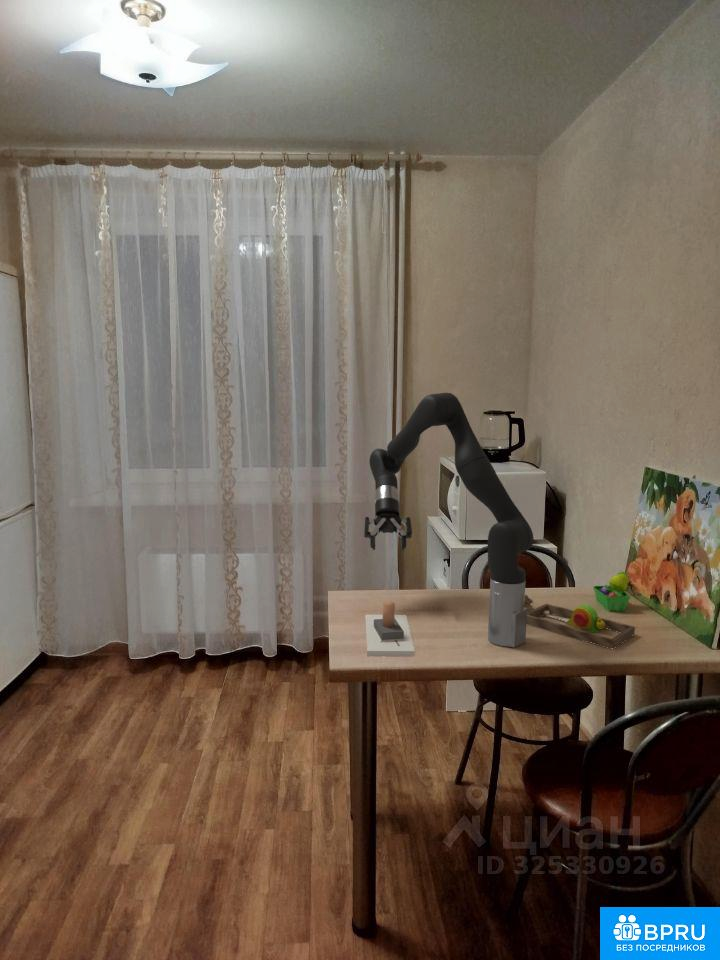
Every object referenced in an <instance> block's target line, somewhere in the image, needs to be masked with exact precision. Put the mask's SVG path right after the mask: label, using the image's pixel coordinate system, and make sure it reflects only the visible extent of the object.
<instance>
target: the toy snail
mask: <svg viewBox="0 0 720 960" xmlns="http://www.w3.org/2000/svg"><path fill="white" fill-rule="evenodd" d="M542 614H543V615H542V616H543V617H548V618H552V619H555V620H558V621H562V622H565V623H566V626H569V627H573V626H574V627H573V628H576V627H577V628H576V629H579V628H581V629H580V630H585V629H587V630H586V631H588V630H590V631H589V632H591V631H593V632H592V633H594V632H595V633H598V632H599V631H601V630H603V629H604V627H605V623H604V622H603V619H604V617H600V619H598V617H599V615H598V612H597V610H596V609H595V608H594V607H592V606H591V605H589V604H582V605H579V606H577V607H576V608H574V610H573V613H572V617H571V618H570V619H568V618H564V617H558V618H559V619H557V618H556V617H557V616H555V615H552V614H550V612H549V611H548V610H547V611H544V612H543V613H542ZM554 616H555V617H554ZM560 619H561V620H560ZM597 631H598V632H597Z"/></svg>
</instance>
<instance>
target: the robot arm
mask: <svg viewBox="0 0 720 960" xmlns="http://www.w3.org/2000/svg"><path fill="white" fill-rule="evenodd" d="M440 426H445V427H447V429H448V430H449V431H448V432H450V434H451V436H452V439H453V441H454V466H455V470H456V472H457V474H458V476H459V478H460V480H461V481H462V483H463V485H464V487H465V488H466V490H467V491H468V492H469V493H470V494H471V495H472V496H473V497H474V498H475V499H477V500H478V501H479V502H481V503H482V504H483V505H484V506H485V507H487V509H488V510H489V511H490V512H491V513H492V515H493V517H494V518H495V520H496V522H497V523H495V524H493V525H492V526H491V527H490V529H489V532H488V536H487V566H488V570H489V573H490V575H489V576H490V578H489V579H490V581H489V600H488V602H489V603H488V605H489V606H488V626H487V627H488V630H487V641H489V642H490V643H492V644H494V645H497V646H501V647H510V648H512V649H513V648H517V647H518V646H520V645H521V644H523V643H526V640H527V625H528V624H527V608H525V607H524V600H525V595H526V594H525V593H526V579H527V578H526V577H527V576H526V575H527V574H526V570H525V569H524V568H523V567H521V566H519V565H518V560H519V559H518V554H521V553H524V552H527V551H529V550H530V549H531V548H532V547H533V543H534V533H533V530H532V528H531V525H530V524H529V523H528V521H527V519H526V518H525V517H524V515H523V514H522V512H521V511H520V510H519V508H518V507H517V505H516V504H515V503H514V501H513V500H512V498H511V497H510V495H509V492H507V490H506V488H505V486H504V484H503V483H502V481H501V480H500V478H499V476H498V474H497V472H496V470H495V468H494V466H493V464H492V463H491V460H490V459H489V458H488V456H487V454H486V453H485V451H484V450H483V448H482V446H481V444H480V442H479V440H478V438H477V436H476V435H475V432H474V431H473V429H472V427H471V425H470V422H469V419H468V418H467V416H466V413H465V410H464V408H463V406H462V404H461V402H460V400H459V399H458V397H457V396H456V395H455V394H453V393H451V392H440V393H432V394H429V395H426V396H424V397H423V398H422V399H421V400H420V401H419V403H418V404H417V406H416V408H415V410H414V411H413V413H412V414H411V416H410V418H409V419H408V420H407V422H406V423H405V425H404V427H403V428H402V429H401V430H400V431H399V432H398V433H397V434H396V435H395V436H394V437H393V438H392V439H391V440H390V442H388V444H387V447H386V449H382V448H375V449H374V450H373V451H372V452H370V456H369V460H368V461H369V468H370V470H371V473H372V477H373V479H374V482H375V485H374V486H375V495H374V518H370V517H369V516H365V518H364V531H363V532H364V536H363V537H364V538H366V539H367V538H369V541H370V542H369V543H370V544H369V545H370V549H372V550H373V551H375V550H376V537H378V536H379V535H380V533H381V532H382V533H383V534H387V533H389V534H393V533H395V534H396V536H398V537H400V547H401V551H404V550H405V549H406V548H407V539H411V538H412V536H413V535H412V534H413V529H412V523H411V522H412V521H411V517H406V518H401V516H400V513H401V512H400V510H401V509H400V496H399V495H400V494H399V490H398V489H399V488H398V485H399V484H398V477H397V476H396V474H397V473H399V472H400V471H401V468H402V467H403V464H404V462H405V460H406V458H407V457H408V456H409V455H410V454H411V453H412V452H413V451H414V450H415V449H416V448H417V447H418V445H419V443H420V439H421V435H422V433H424V432H425V431H427V430H428V429H430V428H432V427H440ZM373 524H374V529H373V530H372V531H369V529H370V527H371V526H372V525H373ZM402 524H403V526H404V527H406V531H405V530H404V529H403V527H402V526H401V525H402Z"/></svg>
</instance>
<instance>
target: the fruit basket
mask: <svg viewBox="0 0 720 960" xmlns="http://www.w3.org/2000/svg"><path fill="white" fill-rule="evenodd" d="M629 579H630V578H629V577H628V573H627V572H625V571H619V572H618V573H617V574H616V575H614V576H612V577H611V578H610V579H609V580H608V581H609V584H605V585H593V586H592V587H593V590H594V594H595V599H596V603H597V602H599V603H600V604H601V605H603V606H602V607H603V608H604V607H605V608H606V609H605V608H604V609H605V610H606V611H608V610H609V611H608V612H612V611H611V610H614V611H613V612H625V611H626V608H627V605H628V603H629V600H630V599H631V595H630V594H629V593H627V592H625V591H626V590H627V588H628V586H629V585H628V582H629ZM599 603H598V604H599ZM600 604H599V605H600ZM601 605H600V606H601ZM615 610H616V611H615ZM620 610H621V611H620Z"/></svg>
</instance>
